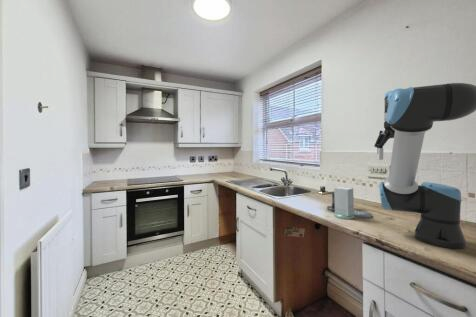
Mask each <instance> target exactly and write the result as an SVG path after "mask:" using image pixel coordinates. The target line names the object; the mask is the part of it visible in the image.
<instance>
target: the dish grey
mask: <svg viewBox="0 0 476 317" xmlns="http://www.w3.org/2000/svg"><path fill="white" fill-rule="evenodd" d="M354 217H356V218H359V219H360V218H361V219H371V218H373V214H372V213H370V212H369V211H368V212H367V211H363V210H354Z"/></svg>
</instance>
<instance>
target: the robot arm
mask: <svg viewBox="0 0 476 317" xmlns="http://www.w3.org/2000/svg"><path fill="white" fill-rule="evenodd" d="M475 111H476V85H475V84H471V83H465V82H451V83H450V82H449V83H444V84H443V83H442V84H441V83H440V84H432V85H424V86H423V85H422V86H414V87H413V86H409V87H407V88H396V89H393V90H389V91H387V92H385V93H384V112H383V113H384V114H383V120H384V122H383V128H384V130H380V131H379V132H378V133H379V134H378V136H377V139H376V141H375V143H374V146H373V147H374V148H377V150H376V151H377V154H378V155H377V160H380V161H382V160H384V146H385V145H386V143H387V141H389V139H393V142H392V144H393V145H392V151H391V159H390V166H389V174H388V177H385V179H384V180H383V182H380V183H379V184H378V187H379V196H380V204H381V207H382V208H383V209H384V210H387V211H388V210H389V211H392V212H393V211H395V212H396V211H397V212H403V213H404V212H405V213H413V214H414V213H417V214H420V219H419V221H418V223H417V225H416V227H415V230H414V238H416V239H418V240H419V241H421V242H424V243H427V244H430V245H433V246H437V247H442V248H448V249H455V250H456V249H465V248H466V238H465V235H464V233H463V230H462V227H461V210H462V209H461V207H462V206H461V205H462V204H461V203H462V201H463V200H462V192H461V190H460V189H459V188H457V187H454V186H451V185H447V184H441V183H436V182H429V181H423V182H422V183H421V184H420V185H418V182H417V181H416V176H417V173H418V172H417V171H418V167H419V161H420V158H421V153H422V150H423V144H424V139H425V133H426V132H428V131H430V130H431V129H432V128H433V124H434V122H443V121H447V122H448V121H454V120H458V119H462V118H465V117H467V116H469V115H471V114H472V113H475Z"/></svg>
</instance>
